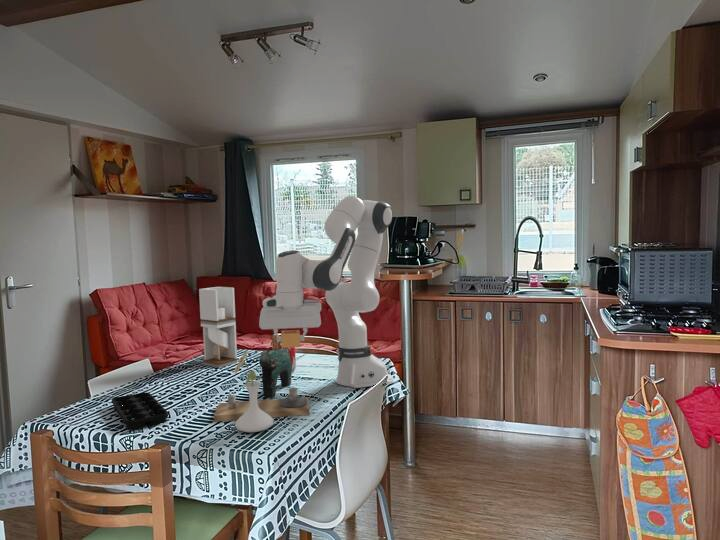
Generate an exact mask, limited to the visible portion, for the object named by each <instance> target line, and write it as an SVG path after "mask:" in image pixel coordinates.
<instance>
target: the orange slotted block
mask: <svg viewBox="0 0 720 540" xmlns="http://www.w3.org/2000/svg"><path fill="white" fill-rule="evenodd" d="M280 333H281V335H280V336H281V340H282V342H281V343H282V348H289V347H295V348H301V341H300V335H301V330H300V329H297V330H296V329H295V330H293V329H292V330H281V332H280Z"/></svg>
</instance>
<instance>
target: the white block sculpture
mask: <svg viewBox="0 0 720 540" xmlns="http://www.w3.org/2000/svg"><path fill="white" fill-rule="evenodd" d="M198 293H199V294H198V296H199V299H198V300H199V313H200V314H199V316H200V327H202V335H203V336H202V337H203V352H204V353H203V354H204V356H203V357H204V359H203V360H202V365H203V366H208V367H213V368H217V369H220V368H224V367H226V366H230V365H233V364H236V363H237V364H238V348H237V325H236V324H237V323H236V303H235V301H236V300H235V288H234V287H229V286H214V287H206V288H199V289H198Z"/></svg>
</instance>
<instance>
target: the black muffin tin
mask: <svg viewBox="0 0 720 540" xmlns="http://www.w3.org/2000/svg"><path fill="white" fill-rule="evenodd" d="M142 401H144V402H142ZM111 403H112V405H113V409H114V410H115V411H116V413H118V414H117V415H119V419H120V418H121V419H123V420H122V423H124V424H126V425H125V428H127V429H126V430H127V431H136V430H139V428H140V429H143V428H145V427H146V426H150V425H154V426H158V425H161V424H160V423H163V424H164V422H165V423H166V422H167V417H168V416H169V412H168V410H166V409H165V407H163V405H162V404H161V403H160V402H158V400H157V399H156V398H155V397H154V396H153V395H152V394H151V393H150V392H141V393H134V394H133V393H131V394H126V395H122V396H117V397H115V396H114V397H112V399H111ZM122 405H123V406H122ZM146 405H148V406H146ZM125 409H128V410H125ZM150 409H152V410H150ZM130 413H132V414H130ZM153 414H155V415H153ZM132 418H135V419H132ZM121 419H120V420H121ZM124 424H123V425H124ZM147 424H149V425H147ZM157 424H158V425H157ZM135 429H136V430H135Z"/></svg>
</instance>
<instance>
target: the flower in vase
mask: <svg viewBox="0 0 720 540" xmlns="http://www.w3.org/2000/svg"><path fill="white" fill-rule="evenodd" d="M248 352H249V350H248V349H245V350H244V352H243V354H242V356H241V358H240V359H239V362H237V366H236V367H235V369H234V371H233V373H234V374H235V375H236V374H237V373H238V372H239V370H240V369H241V367H242V366H243V365H245V367H246V370H247V371H248V373H249V374H248V375H247V378H246V381H245V383H244V385H243V386H245V388H246V390H247V392H248V395H249V396H248V397H249V401H250V407H249V409H248V410H247V411H246V412H245V413H244V414H243V415H242V416H241V417H240V418H239V419H238V420H235V421H236V422H235V425H234V426H235V428H236V429H237V431H240V432H244V433H257V432H262V431H265V430H268V429H269V428H271V427H272V426H273V424H274V422H275V421H274V418H273V417H271V416H270V415H268V414H267V413H265V412H264V411H262V410H261V409H260V408H259V407H258V403H257V401H258V393H259V389H260V387H261V385H262V382H260V381H255V380H256V379H257V376H258V375H257V374H256V372H255V370H254V369H252V370H251V369H250V368H249V366H248V365H247V363H246V361H245V359H246V357H247V354H248ZM250 370H251V371H250Z"/></svg>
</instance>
